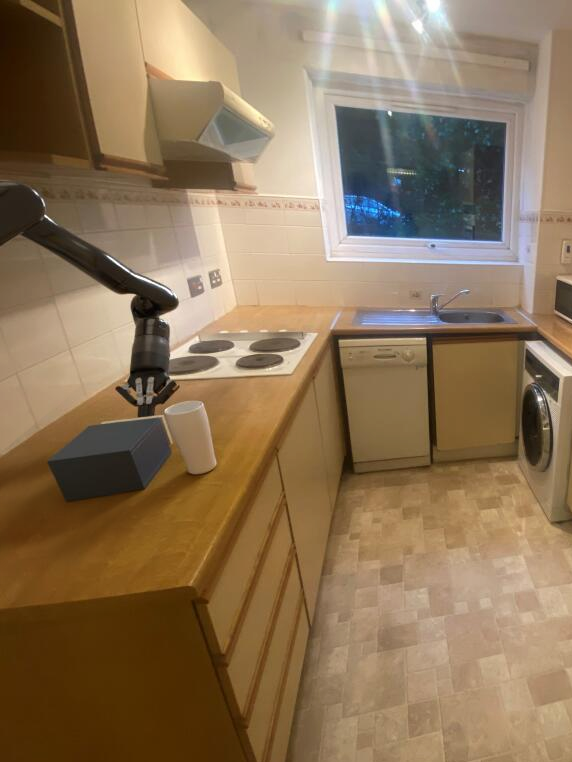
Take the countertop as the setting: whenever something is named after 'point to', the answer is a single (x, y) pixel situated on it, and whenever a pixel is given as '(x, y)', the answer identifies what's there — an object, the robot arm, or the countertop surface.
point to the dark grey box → (110, 459)
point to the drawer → (149, 418)
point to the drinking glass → (192, 435)
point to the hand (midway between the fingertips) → (145, 420)
